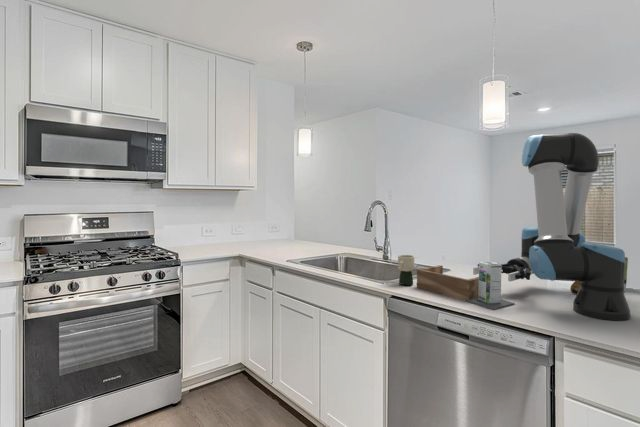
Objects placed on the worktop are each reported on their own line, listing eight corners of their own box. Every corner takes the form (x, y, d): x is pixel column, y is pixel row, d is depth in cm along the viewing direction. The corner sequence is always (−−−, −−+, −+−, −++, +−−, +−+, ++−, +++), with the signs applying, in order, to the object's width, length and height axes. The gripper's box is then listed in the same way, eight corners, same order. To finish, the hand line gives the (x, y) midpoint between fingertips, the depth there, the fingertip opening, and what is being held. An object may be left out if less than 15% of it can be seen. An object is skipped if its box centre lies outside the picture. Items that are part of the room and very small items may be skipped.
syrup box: (477, 299, 135) (478, 261, 134) (491, 298, 136) (491, 260, 135) (487, 304, 129) (488, 264, 128) (501, 302, 130) (502, 263, 129)
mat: (514, 304, 130) (514, 303, 130) (493, 310, 124) (493, 308, 124) (485, 296, 140) (485, 295, 140) (464, 301, 135) (464, 299, 135)
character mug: (404, 281, 166) (404, 253, 166) (418, 283, 162) (418, 255, 161) (393, 285, 158) (393, 256, 158) (407, 288, 154) (407, 258, 153)
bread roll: (601, 307, 138) (612, 289, 137) (574, 294, 140) (585, 276, 138) (587, 299, 148) (597, 282, 146) (563, 288, 149) (572, 271, 148)
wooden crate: (439, 282, 163) (439, 265, 163) (491, 295, 143) (492, 275, 142) (416, 287, 155) (416, 269, 154) (468, 301, 134) (468, 280, 134)
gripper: (553, 282, 135) (525, 291, 123) (490, 271, 155) (461, 277, 143) (553, 262, 134) (526, 269, 122) (490, 254, 155) (461, 259, 143)
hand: (490, 274), depth 133 cm, fingers open, 13 cm apart
